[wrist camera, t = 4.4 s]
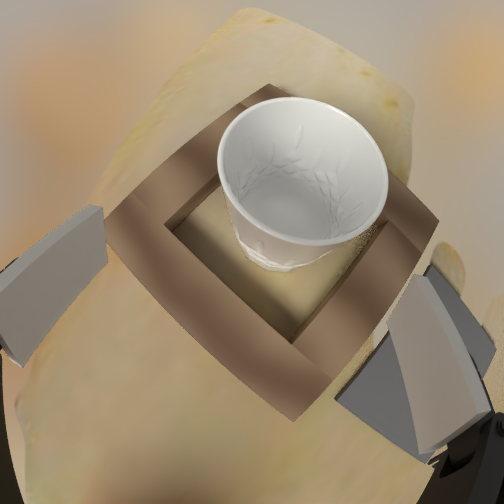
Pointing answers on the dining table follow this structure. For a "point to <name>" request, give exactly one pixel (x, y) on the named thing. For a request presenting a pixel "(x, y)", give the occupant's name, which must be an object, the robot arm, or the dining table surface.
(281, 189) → the white cup
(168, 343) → the dining table surface
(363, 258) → the puzzle board
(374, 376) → the rubber mat
